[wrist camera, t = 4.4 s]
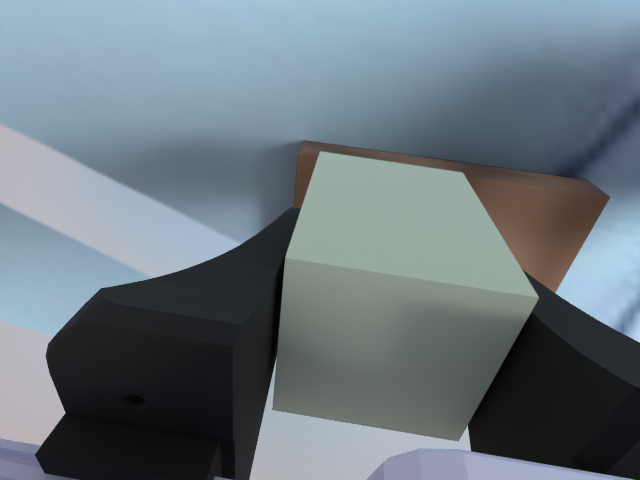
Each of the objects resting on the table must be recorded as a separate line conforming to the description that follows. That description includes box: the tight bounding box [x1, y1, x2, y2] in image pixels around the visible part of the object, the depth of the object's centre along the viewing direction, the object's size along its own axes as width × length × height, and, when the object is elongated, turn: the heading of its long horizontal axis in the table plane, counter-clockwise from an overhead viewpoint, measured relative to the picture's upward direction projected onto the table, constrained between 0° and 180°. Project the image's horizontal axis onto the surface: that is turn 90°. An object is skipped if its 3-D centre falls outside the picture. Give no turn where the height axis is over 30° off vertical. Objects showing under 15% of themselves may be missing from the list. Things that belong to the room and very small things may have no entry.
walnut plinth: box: [294, 140, 610, 293], centre depth 21 cm, size 14×14×2 cm
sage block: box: [273, 151, 539, 441], centre depth 10 cm, size 4×4×6 cm
